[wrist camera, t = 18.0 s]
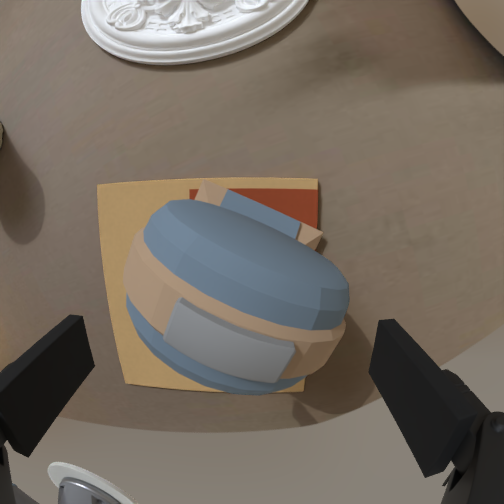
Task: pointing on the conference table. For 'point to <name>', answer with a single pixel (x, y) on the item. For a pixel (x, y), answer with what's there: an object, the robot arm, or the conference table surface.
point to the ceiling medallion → (183, 27)
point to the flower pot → (0, 131)
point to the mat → (136, 217)
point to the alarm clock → (234, 293)
